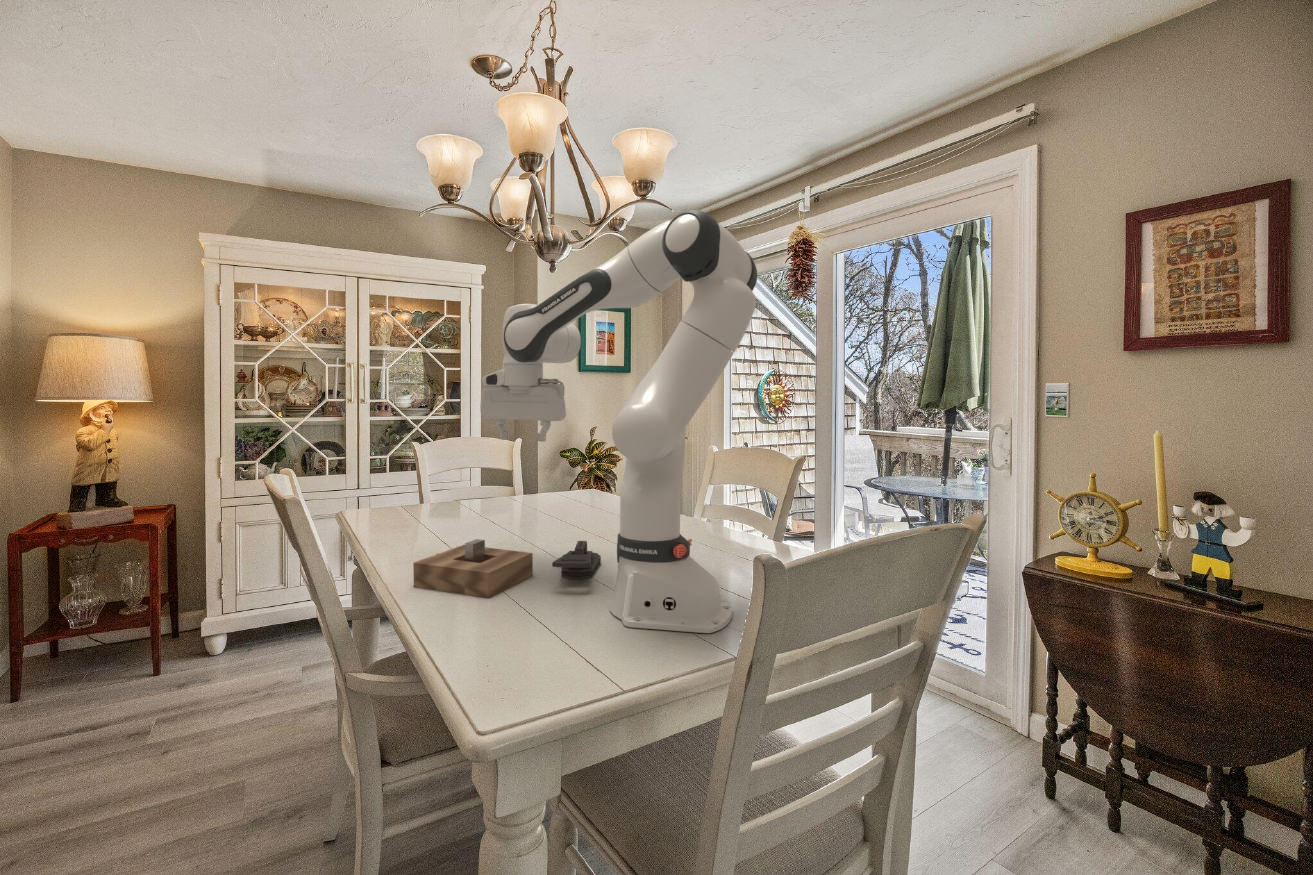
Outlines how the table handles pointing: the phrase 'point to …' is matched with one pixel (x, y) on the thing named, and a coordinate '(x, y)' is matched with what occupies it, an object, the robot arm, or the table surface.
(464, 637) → the table surface
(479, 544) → the steel bracket
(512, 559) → the walnut well
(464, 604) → the table surface
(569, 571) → the zipper pull
